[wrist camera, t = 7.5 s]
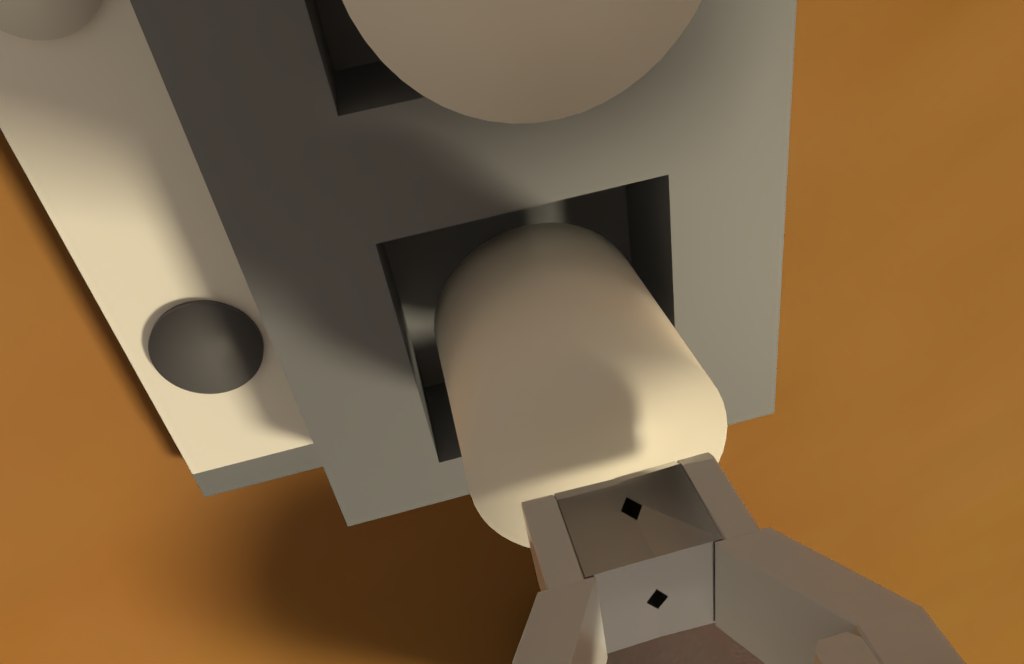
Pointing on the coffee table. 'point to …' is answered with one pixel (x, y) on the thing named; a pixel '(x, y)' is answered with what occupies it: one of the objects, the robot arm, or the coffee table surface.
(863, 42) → the coffee table surface
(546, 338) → the button
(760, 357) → the board
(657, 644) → the pillar candle
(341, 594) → the coffee table surface
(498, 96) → the button
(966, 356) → the coffee table surface
